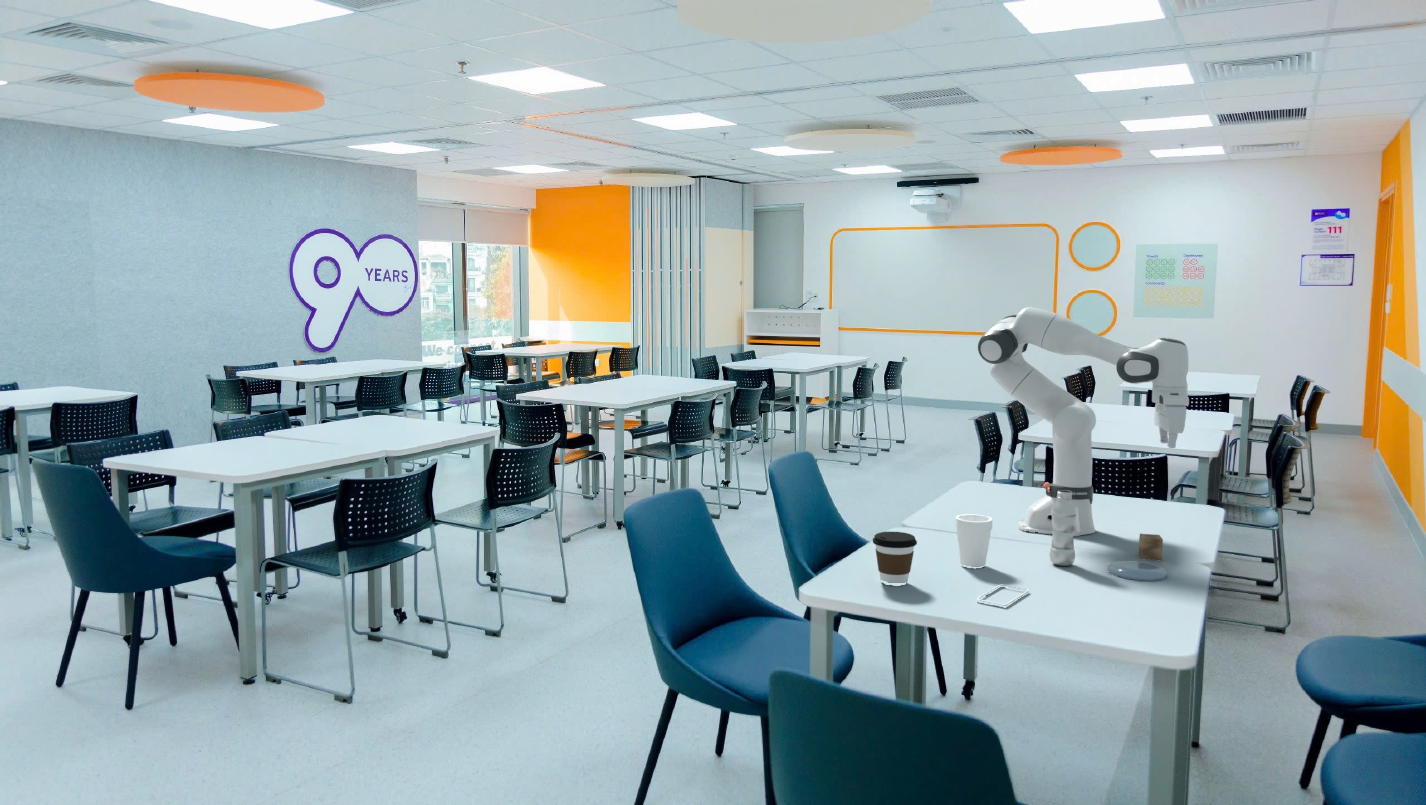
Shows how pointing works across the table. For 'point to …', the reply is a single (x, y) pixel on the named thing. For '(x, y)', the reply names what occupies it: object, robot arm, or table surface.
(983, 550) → the foam cup
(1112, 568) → the dish
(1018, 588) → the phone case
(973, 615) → the table surface
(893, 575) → the coffee cup
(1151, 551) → the walnut block
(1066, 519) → the plastic bottle
